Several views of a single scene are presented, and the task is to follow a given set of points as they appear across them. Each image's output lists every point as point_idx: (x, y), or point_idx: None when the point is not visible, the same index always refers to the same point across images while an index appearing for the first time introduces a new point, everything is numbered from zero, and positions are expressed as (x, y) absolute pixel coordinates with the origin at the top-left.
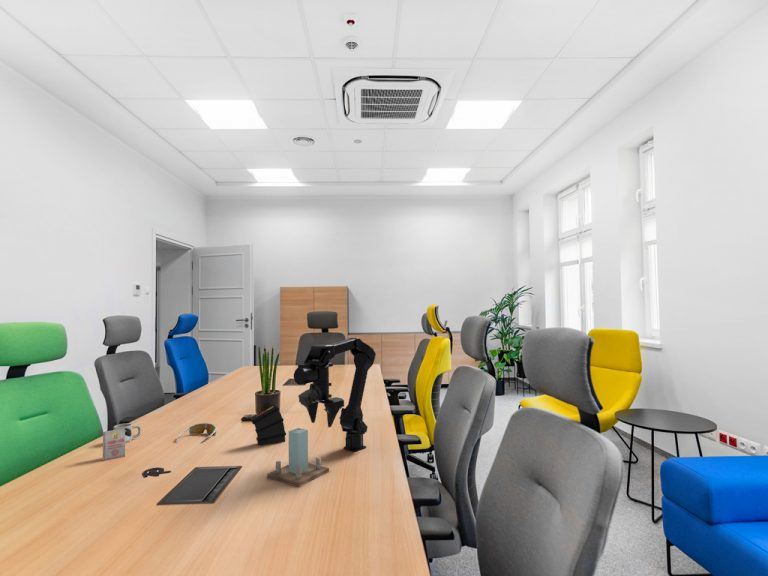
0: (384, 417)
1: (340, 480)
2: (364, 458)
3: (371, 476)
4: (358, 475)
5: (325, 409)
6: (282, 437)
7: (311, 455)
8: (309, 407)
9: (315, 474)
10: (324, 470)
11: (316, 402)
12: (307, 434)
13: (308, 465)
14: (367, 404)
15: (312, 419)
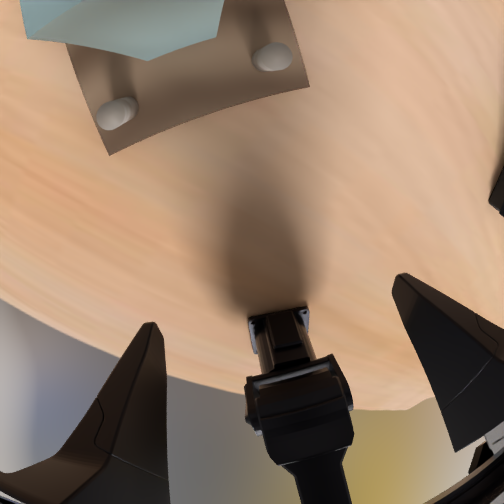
0: (372, 407)
1: (22, 156)
2: (169, 313)
3: (21, 254)
4: (36, 227)
5: (26, 498)
6: (500, 200)
7: (346, 188)
8: (502, 373)
9: (77, 74)
10: (97, 127)
11: (466, 442)
12: (57, 37)
13: (203, 87)
14: (431, 395)
15: (412, 297)
